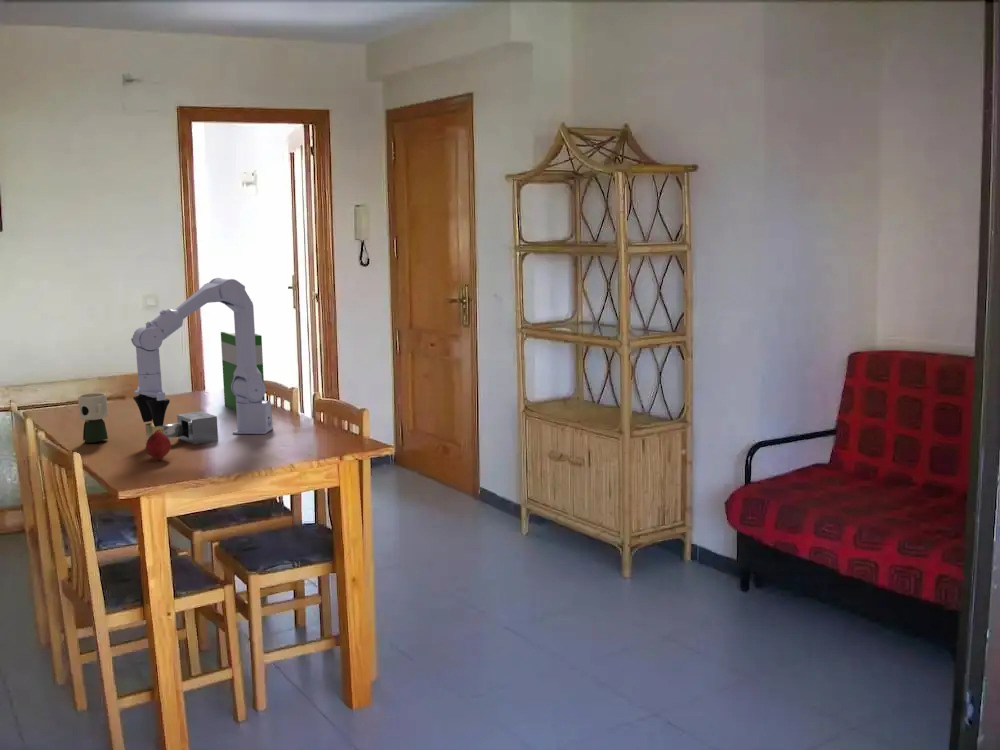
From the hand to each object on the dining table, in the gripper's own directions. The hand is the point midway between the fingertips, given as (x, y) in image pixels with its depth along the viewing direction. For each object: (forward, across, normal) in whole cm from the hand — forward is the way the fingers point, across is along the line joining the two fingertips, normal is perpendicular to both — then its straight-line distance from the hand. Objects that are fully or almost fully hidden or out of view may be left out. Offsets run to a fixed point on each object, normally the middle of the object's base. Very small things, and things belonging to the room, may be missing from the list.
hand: (153, 423), depth 259 cm
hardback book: (+7, -34, +42) cm, 55 cm away
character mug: (+6, -17, -10) cm, 21 cm away
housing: (+6, 0, +12) cm, 14 cm away
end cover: (+5, 0, +3) cm, 6 cm away
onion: (+6, +16, -5) cm, 18 cm away
